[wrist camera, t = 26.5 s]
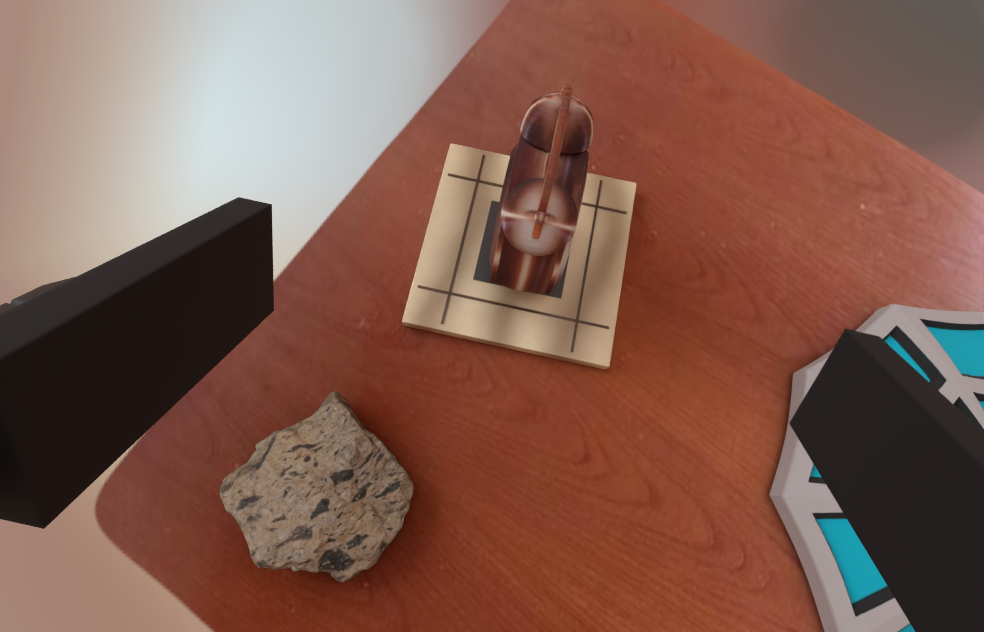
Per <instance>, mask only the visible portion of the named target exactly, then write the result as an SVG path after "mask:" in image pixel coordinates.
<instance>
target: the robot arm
mask: <svg viewBox="0 0 984 632" xmlns="http://www.w3.org/2000/svg"><path fill="white" fill-rule="evenodd" d="M272 248H273V247H272V205H271V204H267V203H262V202H258V201H253V200H249V199H244V198H236V199H234V200H232V201H230V202H228V203H226V204H224V205H222V206H220V207H218V208H216V209H214V210H212V211H210V212H208V213H206V214H204V215H202V216H200V217H198V218H195V219H193V220H191V221H189V222H187V223H185V224H183V225H181V226H179V227H177V228H175V229H173V230H171V231H169V232H167V233H165V234H163V235H161V236H159V237H157V238H155V239H153V240H151V241H149V242H147V243H145V244H142V245H141V246H138V247H136V248H135V249H132V250H130V251H128V252H126V253H124V254H122V255H120V256H118V257H116V258H114V259H112V260H110V261H108V262H106V263H104V264H102V265H100V266H98V267H96V268H94V269H91V270H89V271H88V272H85V273H83V274H81V275H79V276H77V277H73V278H70V279H66V280H62V281H58V282H54V283H50V284H47V285H43V286H40V287H38V288H36V289H34V290H32V291H30V292H28V293H26V294H24V295H22V296H19V297H17V298H15V299H13V300H12V302H11V304H8V303H5V304H2V305H0V519H3V520H8V521H12V522H17V523H21V524H25V525H30V526H34V527H39V528H43V529H44V528H45V527H46V526H47V525H48V524H50V523H51V522H52V521H53V520H54V519H55V518H56V517H57V516H58V515H59V514H60V513H61V512H62V511H63V510H64V509H65V508H66V507H67V506H68V505H69V504H71V502H73V501H74V500H75V499H76V498H77V497H78V496H79V495H80V494H81V493H82V492H83V491H84V490H85V489H86V488H87V487H88V486H89V485H90V484H91V483H93V482H94V481H95V480H96V479H97V478H98V477H99V476H100V475H101V474H102V473H103V472H104V471H105V470H106V469H107V468H108V467H109V466H111V464H113V462H115V461H116V460H117V459H118V458H119V457H120V456H121V455H122V454H123V453H124V452H125V451H126V450H127V449H128V448H130V447H131V446H132V445H133V444H134V443H135V442H136V441H137V440H138V439H139V438H140V437H141V436H142V435H143V434H144V433H145V432H146V431H147V430H148V429H150V428H151V427H152V426H153V425H154V424H155V423H156V422H157V421H158V420H159V419H160V418H161V417H162V416H163V415H164V414H165V413H166V412H167V411H168V410H170V409H171V408H172V407H173V406H174V405H175V404H176V403H177V402H178V401H179V400H180V399H181V398H182V397H183V396H184V395H185V394H186V393H187V392H188V391H190V390H191V389H192V388H193V387H194V386H195V385H196V384H197V383H198V382H199V381H200V380H201V379H202V378H203V377H204V376H205V375H206V374H207V373H208V372H210V371H211V370H212V369H213V368H214V367H215V366H216V365H217V364H218V363H219V362H220V361H221V360H222V359H223V358H224V357H225V356H226V355H227V354H228V353H230V352H231V351H232V350H233V349H234V348H235V347H236V346H237V345H238V344H239V343H240V342H241V341H242V340H243V339H244V338H245V337H246V336H247V335H248V334H250V333H251V332H252V331H253V330H254V329H255V328H256V327H257V326H258V325H259V324H260V323H261V322H262V321H263V320H264V319H265V318H266V317H267V316H268V315H270V314H271V313H272V312H273V311H274V295H273V249H272ZM789 424H790V426H791V427H792V429H793V431H794V432H795V434H796V436H797V437H798V439H799V441H800V442H801V444H802V446H803V447H804V449H805V451H806V452H807V454H808V456H809V457H810V459H811V460H812V462H813V464H814V465H815V467H816V469H817V470H818V472H819V474H820V475H821V477H822V479H823V480H824V482H825V484H826V485H827V487H828V489H829V490H830V492H831V493H832V495H833V497H834V498H835V500H836V502H837V503H838V505H839V507H840V508H841V510H842V512H843V513H844V515H845V517H846V518H847V520H848V522H849V523H850V525H851V527H852V528H853V530H854V531H855V533H856V535H857V536H858V538H859V540H860V541H861V543H862V545H863V546H864V548H865V550H866V551H867V553H868V555H869V556H870V558H871V560H872V561H873V563H874V564H875V566H876V568H877V569H878V571H879V573H880V574H881V576H882V578H883V579H884V581H885V583H886V584H887V586H888V588H889V589H890V591H891V593H892V594H893V596H894V598H895V599H896V601H897V602H898V604H899V606H900V607H901V609H902V611H903V612H904V614H905V616H906V617H907V619H908V621H909V622H910V624H911V626H912V627H913V629H914V631H915V632H984V432H983V431H982V430H981V429H980V428H979V427H977V426H976V425H975V424H974V423H973V422H972V421H971V420H970V419H969V418H968V417H967V416H966V415H964V414H963V413H962V412H961V411H960V410H959V409H958V408H957V407H956V406H955V405H954V404H952V403H951V402H950V401H949V400H948V399H947V398H946V397H945V396H944V395H943V394H942V393H940V392H939V391H938V390H937V389H936V388H935V387H934V386H933V385H932V384H931V383H930V382H928V381H927V380H926V379H925V378H924V377H923V376H922V375H921V374H920V373H919V372H918V371H916V370H915V369H914V368H913V367H912V366H911V365H910V364H909V363H908V362H907V361H906V360H905V359H903V358H902V357H901V356H900V355H899V354H898V353H897V352H896V351H895V350H894V349H893V348H891V347H890V346H889V345H888V344H887V343H886V342H885V341H884V340H883V339H882V338H881V337H879V336H876V335H871V334H866V333H862V332H857V331H853V330H848V329H845V330H844V332H843V334H842V335H841V337H840V339H839V340H838V342H837V344H836V345H835V347H834V349H833V350H832V352H831V354H830V355H829V357H828V359H827V360H826V362H825V364H824V365H823V367H822V369H821V370H820V372H819V374H818V376H817V377H816V379H815V381H814V382H813V384H812V386H811V387H810V389H809V391H808V392H807V394H806V396H805V397H804V399H803V401H802V402H801V404H800V406H799V407H798V409H797V411H796V412H795V414H794V416H793V417H792V419H791V421H790V422H789Z"/></svg>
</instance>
